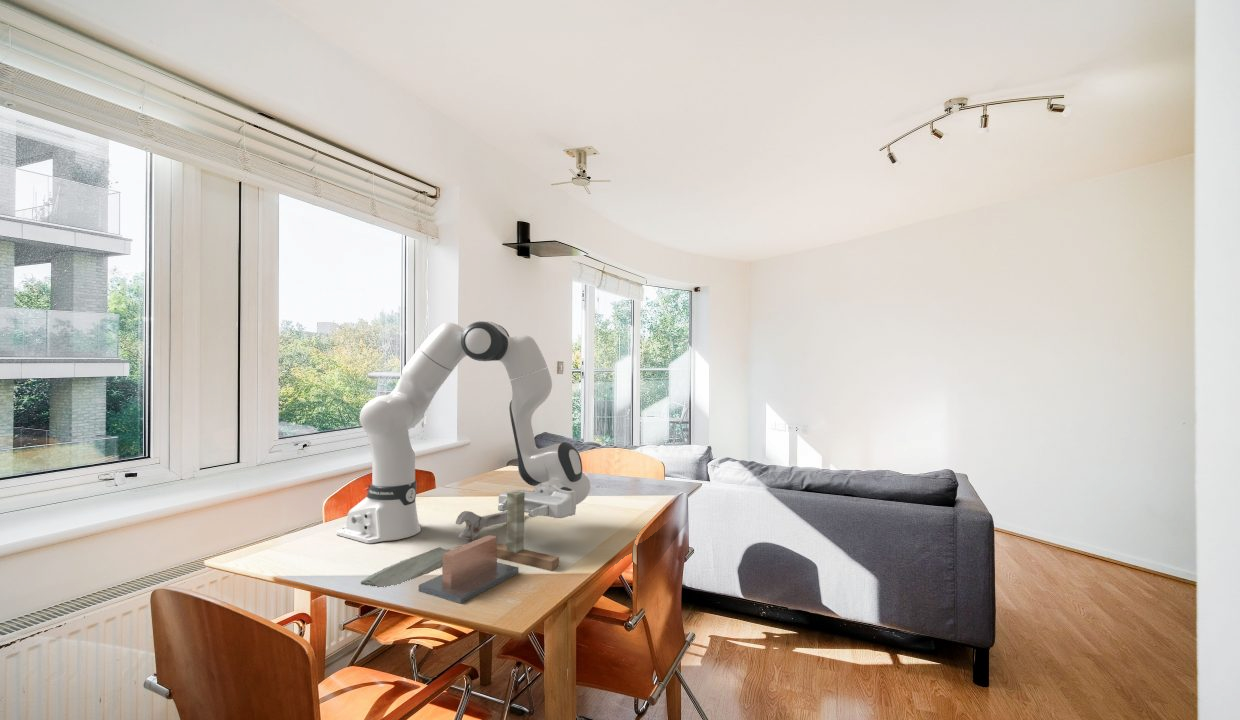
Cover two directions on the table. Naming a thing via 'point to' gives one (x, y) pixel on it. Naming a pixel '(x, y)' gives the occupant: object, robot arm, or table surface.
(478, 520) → the wrench
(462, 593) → the stand
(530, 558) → the brown t-shaped piece
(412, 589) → the table surface
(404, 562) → the stone slab
